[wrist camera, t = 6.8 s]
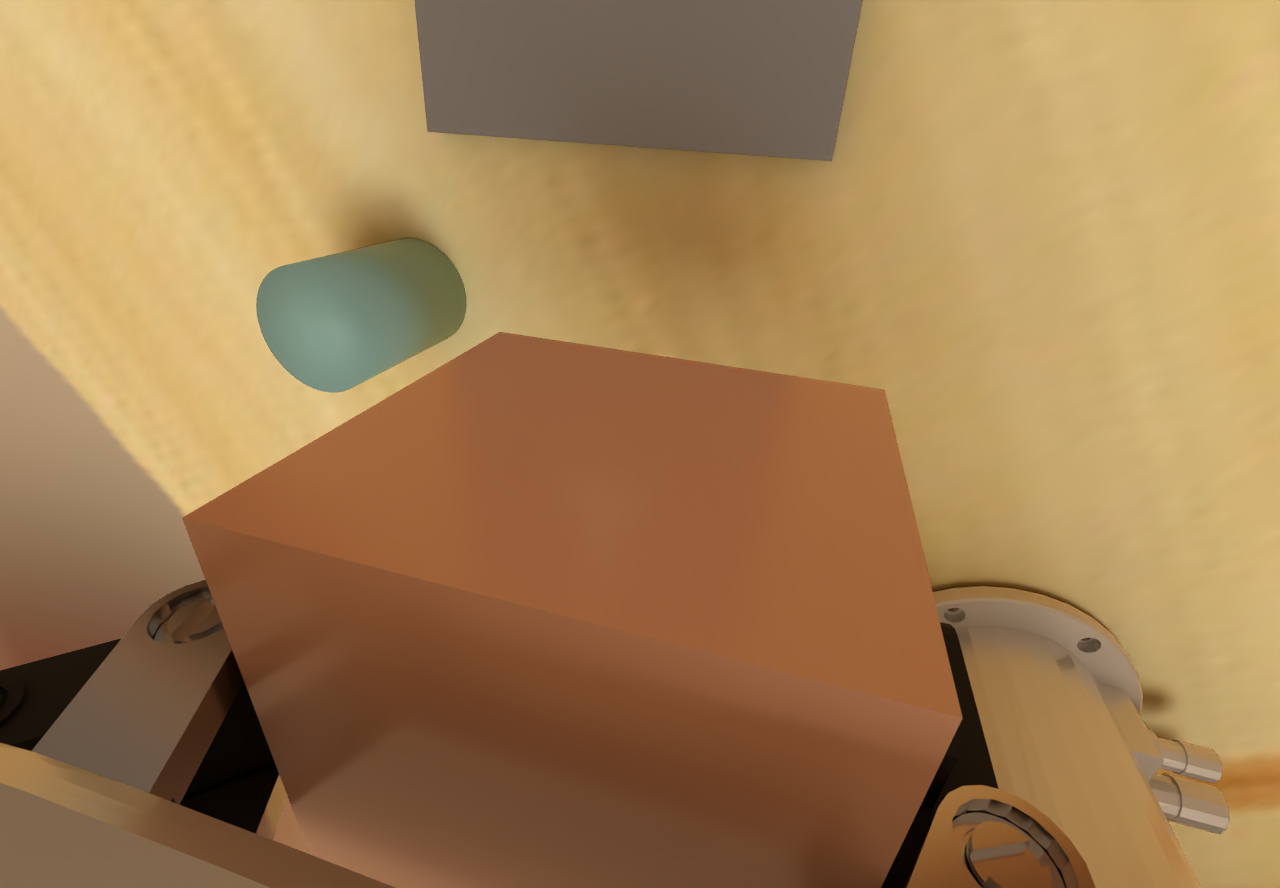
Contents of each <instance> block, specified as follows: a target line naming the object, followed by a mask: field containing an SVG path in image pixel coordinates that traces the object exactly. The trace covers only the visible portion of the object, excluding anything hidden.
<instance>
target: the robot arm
mask: <svg viewBox="0 0 1280 888" xmlns="http://www.w3.org/2000/svg"><path fill="white" fill-rule="evenodd" d="M933 596H934V600H935V604H936V608H937V613H938V617H939V621H940V625H941V629H942V634H943V638H944V642H945V646H946V650H947V655H948V659H949V663H950V667H951V671H952V676H953V680H954V684H955V688H956V692H957V697H958V701H959V705H960V709H961V714H962V720H961V723H960V725H959V727H958V729H957V731H956V733H955V735H954V737H953V739H952V741H951V743H950V745H949V747H948V749H947V752H946V754H945V756H944V758H943V760H942V762H941V764H940V766H939V768H938V770H937V772H936V774H935V776H934V779H933V781H932V783H931V785H930V787H929V789H928V791H927V793H926V795H925V797H924V799H923V801H922V803H921V805H920V808H919V810H918V812H917V814H916V816H915V818H914V820H913V822H912V824H911V826H910V828H909V830H908V832H907V835H906V837H905V839H904V841H903V843H902V845H901V847H900V849H899V851H898V853H897V855H896V857H895V859H894V861H893V864H892V866H891V868H890V870H889V872H888V874H887V876H886V878H885V880H884V882H883V884H882V886H881V888H1201V886H1200V884H1199V882H1198V880H1197V878H1196V876H1195V874H1194V872H1193V870H1192V868H1191V866H1190V864H1189V862H1188V860H1187V858H1186V856H1185V854H1184V852H1183V850H1182V848H1181V846H1180V844H1179V842H1178V840H1177V838H1176V836H1175V834H1174V832H1173V830H1172V828H1171V826H1170V824H1169V822H1168V821H1171V822H1175V823H1178V824H1182V825H1186V826H1189V827H1193V828H1197V829H1200V830H1204V831H1208V832H1211V833H1217V834H1221V833H1222V832H1223V831H1225V830H1226V829H1227V826H1228V823H1229V820H1230V819H1229V807H1228V805H1227V802H1226V800H1225V797H1224V795H1223V794H1222V793H1221V792H1220V791H1219V790H1218V789H1217V788H1216V787H1214V786H1211V785H1208V784H1205V783H1201V782H1197V781H1193V780H1189V779H1185V778H1181V777H1177V776H1174V775H1170V774H1166V773H1163V774H1161V775H1160V774H1156V772H1157V770H1158V769H1159V768H1162V769H1166V770H1170V771H1173V772H1174V773H1176V774H1179V775H1183V776H1187V777H1191V778H1195V779H1199V780H1203V781H1206V782H1210V783H1215V782H1217V781H1219V780H1220V778H1221V775H1222V763H1221V760H1220V758H1219V755H1218V754H1217V753H1216V752H1215V751H1214V750H1213V749H1209V748H1205V747H1201V746H1197V745H1193V744H1189V743H1185V742H1181V741H1177V740H1172V741H1170V740H1166V739H1162V738H1158V737H1157V736H1156V735H1155V733H1154V732H1153V731H1152V730H1150V729H1149V728H1147V727H1146V726H1145V724H1144V722H1143V720H1142V719H1141V717H1140V716H1141V712H1142V700H1143V693H1142V688H1141V684H1140V680H1139V676H1138V674H1137V672H1136V670H1135V668H1134V666H1133V664H1132V663H1131V661H1130V659H1129V657H1128V655H1127V653H1126V652H1125V650H1124V649H1123V648H1122V646H1121V645H1120V644H1119V642H1118V641H1117V640H1116V639H1115V637H1114V636H1113V635H1112V633H1110V632H1109V631H1108V630H1107V629H1106V628H1104V627H1103V626H1102V625H1101V624H1100V623H1098V622H1097V621H1096V620H1095V619H1094V618H1092V617H1091V616H1089V615H1087V614H1085V613H1083V612H1082V611H1080V610H1078V609H1076V608H1075V607H1073V606H1071V605H1069V604H1067V603H1064V602H1061V601H1058V600H1056V599H1053V598H1050V597H1047V596H1045V595H1042V594H1038V593H1033V592H1028V591H1023V590H1018V589H1014V588H1002V587H988V586H977V587H961V588H951V589H946V590H941V591H936V592H933ZM287 799H288V796H287V793H286V791H285V788H284V785H283V783H282V780H281V777H280V775H279V772H278V770H277V767H276V764H275V762H274V759H273V756H272V754H271V751H270V748H269V746H268V743H267V740H266V738H265V735H264V733H263V730H262V727H261V725H260V722H259V719H258V717H257V714H256V711H255V709H254V706H253V703H252V701H251V698H250V696H249V693H248V690H247V688H246V685H245V682H244V680H243V677H242V674H241V672H240V669H239V666H238V664H237V661H236V659H235V656H234V653H233V651H232V648H231V645H230V643H229V640H228V637H227V635H226V632H225V629H224V627H223V624H222V622H221V619H220V616H219V614H218V611H217V608H216V606H215V603H214V600H213V598H212V595H211V592H210V590H209V587H208V585H207V582H206V580H203V581H200V582H196V583H193V584H190V585H186V586H184V587H182V588H180V589H177V590H176V591H173V592H171V593H169V594H167V595H165V596H164V597H162V598H161V599H159V600H158V601H156V602H155V603H153V604H152V605H151V606H150V607H149V608H148V609H146V610H145V611H144V612H143V613H142V614H141V615H140V616H139V618H138V619H137V620H136V621H135V623H134V624H133V625H132V626H131V628H130V629H129V630H128V631H127V633H126V634H125V635H124V636H123V638H122V639H118V640H114V641H110V642H107V643H103V644H99V645H95V646H91V647H88V648H85V649H81V650H77V651H73V652H69V653H65V654H61V655H58V656H54V657H50V658H46V659H42V660H39V661H35V662H31V663H27V664H24V665H20V666H16V667H12V668H9V669H5V670H1V671H0V888H395V887H393V886H390V885H388V884H385V883H382V882H380V881H377V880H375V879H372V878H369V877H367V876H364V875H362V874H359V873H356V872H354V871H351V870H349V869H346V868H343V867H341V866H338V865H336V864H333V863H331V862H328V861H325V860H323V859H320V858H318V857H315V856H312V855H310V854H307V853H304V852H302V851H299V850H297V849H294V848H291V847H289V846H286V845H284V844H281V843H278V842H276V841H273V838H274V835H275V832H276V830H277V827H278V824H279V821H280V819H281V816H282V813H283V811H284V808H285V805H286V802H287Z"/></svg>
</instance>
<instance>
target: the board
mask: <svg viewBox="0 0 1280 888" xmlns="http://www.w3.org/2000/svg"><path fill="white" fill-rule="evenodd" d="M862 1H863V0H415V9H416V19H417V29H418V39H419V49H420V59H421V69H422V79H423V89H424V99H425V110H426V120H427V130H428V132H439V133H453V134H466V135H480V136H494V137H508V138H521V139H535V140H549V141H563V142H576V143H590V144H604V145H618V146H631V147H645V148H659V149H673V150H686V151H700V152H714V153H728V154H741V155H755V156H769V157H783V158H796V159H810V160H824V161H832V157H833V152H834V147H835V141H836V136H837V131H838V126H839V121H840V115H841V110H842V105H843V100H844V95H845V89H846V84H847V79H848V74H849V68H850V63H851V58H852V53H853V48H854V42H855V37H856V32H857V27H858V22H859V16H860V11H861V6H862Z"/></svg>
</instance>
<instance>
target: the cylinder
mask: <svg viewBox="0 0 1280 888" xmlns="http://www.w3.org/2000/svg"><path fill="white" fill-rule="evenodd" d="M256 307H257V317H258V322H259V325H260V329H261V332H262V334H263V337H264V339H265V341H266V343H267V345H268V347H269V348H270V350H271V352H272V353H273V355H274V356H275V357H276V359H277V360H278V361H279V363H280V364H281V365H282V366H283V367H284V368H285V369H286V370H287V371H288V372H289V373H290V374H291V375H293V376H294V377H295V378H296V379H298V380H299V381H301V382H302V383H304V384H306V385H308V386H310V387H312V388H314V389H317V390H320V391H324V392H342V391H346V390H348V389H351V388H353V387H355V386H356V385H358V384H360V383H362V382H364V381H366V380H368V379H370V378H372V377H374V376H376V375H378V374H380V373H382V372H384V371H385V370H387V369H389V368H391V367H393V366H395V365H397V364H399V363H401V362H403V361H405V360H407V359H409V358H411V357H412V356H414V355H416V354H418V353H420V352H422V351H424V350H426V349H428V348H430V347H432V346H434V345H436V344H438V343H439V342H441V341H443V340H445V339H447V338H449V337H450V336H452V335H453V334H454V333H455V332H456V331H457V330H458V329H459V327H460V326H461V324H462V322H463V319H464V316H465V312H466V294H465V289H464V285H463V282H462V279H461V277H460V275H459V273H458V271H457V269H456V268H455V266H454V265H453V263H452V262H451V261H450V259H449V258H448V257H447V256H446V255H445V254H444V253H443V252H442V251H440V250H439V249H438V248H436V247H435V246H433V245H432V244H430V243H428V242H426V241H423V240H420V239H415V238H404V239H399V240H394V241H390V242H386V243H381V244H377V245H372V246H368V247H364V248H359V249H355V250H350V251H346V252H342V253H337V254H333V255H328V256H324V257H320V258H315V259H311V260H306V261H302V262H298V263H293V264H289V265H284V266H281V267H278V268H276V269H274V270H272V271H271V272H270V273H269V274H267V276H266V277H265V278H264V279H263V281H262V283H261V285H260V287H259V290H258V295H257V306H256Z"/></svg>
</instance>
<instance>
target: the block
mask: <svg viewBox="0 0 1280 888" xmlns="http://www.w3.org/2000/svg"><path fill="white" fill-rule="evenodd" d="M183 521H184V524H185V526H186V529H187V531H188V534H189V537H190V540H191V542H192V545H193V548H194V550H195V553H196V555H197V557H198V561H199V563H200V566H201V569H202V571H203V574H204V576H205V579H206V582H207V585H208V587H209V590H210V592H211V595H212V598H213V600H214V603H215V606H216V608H217V611H218V614H219V616H220V619H221V622H222V624H223V627H224V629H225V632H226V635H227V637H228V640H229V643H230V645H231V648H232V651H233V653H234V656H235V659H236V661H237V664H238V666H239V669H240V672H241V674H242V677H243V680H244V682H245V685H246V688H247V690H248V693H249V696H250V698H251V701H252V703H253V706H254V709H255V711H256V714H257V717H258V719H259V722H260V725H261V727H262V730H263V733H264V735H265V738H266V740H267V743H268V746H269V748H270V751H271V754H272V756H273V759H274V762H275V764H276V767H277V770H278V772H279V775H280V777H281V780H282V783H283V785H284V788H285V791H286V793H287V796H288V799H289V801H290V804H291V807H292V809H293V812H294V814H295V817H296V820H297V822H298V825H299V828H300V830H301V833H302V836H303V838H304V841H305V844H306V846H307V849H308V851H309V854H310V855H312V856H315V857H318V858H320V859H323V860H325V861H328V862H331V863H333V864H336V865H338V866H341V867H343V868H346V869H349V870H351V871H354V872H356V873H359V874H362V875H364V876H367V877H369V878H372V879H375V880H377V881H380V882H382V883H385V884H388V885H390V886H393V887H395V888H881V886H882V884H883V882H884V880H885V878H886V876H887V874H888V872H889V870H890V868H891V866H892V864H893V861H894V859H895V857H896V855H897V853H898V851H899V849H900V847H901V845H902V843H903V841H904V839H905V837H906V835H907V832H908V830H909V828H910V826H911V824H912V822H913V820H914V818H915V816H916V814H917V812H918V810H919V808H920V805H921V803H922V801H923V799H924V797H925V795H926V793H927V791H928V789H929V787H930V785H931V783H932V781H933V779H934V776H935V774H936V772H937V770H938V768H939V766H940V764H941V762H942V760H943V758H944V756H945V754H946V752H947V749H948V747H949V745H950V743H951V741H952V739H953V737H954V735H955V733H956V731H957V729H958V727H959V725H960V723H961V720H962V714H961V709H960V705H959V701H958V697H957V692H956V688H955V684H954V680H953V676H952V671H951V667H950V663H949V659H948V655H947V650H946V646H945V642H944V638H943V634H942V629H941V625H940V621H939V617H938V613H937V608H936V604H935V600H934V596H933V592H932V587H931V583H930V579H929V575H928V571H927V566H926V562H925V558H924V554H923V550H922V545H921V541H920V537H919V533H918V529H917V524H916V520H915V516H914V512H913V507H912V503H911V499H910V495H909V491H908V486H907V482H906V478H905V474H904V470H903V465H902V461H901V457H900V453H899V449H898V444H897V440H896V436H895V432H894V428H893V423H892V419H891V415H890V411H889V407H888V402H887V398H886V394H885V390H882V389H875V388H869V387H862V386H855V385H849V384H842V383H835V382H829V381H822V380H815V379H809V378H802V377H795V376H789V375H782V374H775V373H769V372H762V371H756V370H749V369H742V368H736V367H729V366H722V365H716V364H709V363H702V362H696V361H689V360H682V359H676V358H669V357H662V356H656V355H649V354H642V353H636V352H629V351H623V350H616V349H609V348H603V347H596V346H589V345H583V344H576V343H569V342H563V341H556V340H549V339H543V338H536V337H529V336H523V335H516V334H509V333H503V332H499V333H497V334H496V335H494V336H492V337H490V338H489V339H487V340H485V341H484V342H482V343H480V344H478V345H477V346H475V347H473V348H472V349H470V350H468V351H467V352H465V353H463V354H461V355H460V356H458V357H456V358H455V359H453V360H451V361H449V362H448V363H446V364H444V365H443V366H441V367H439V368H437V369H436V370H434V371H432V372H431V373H429V374H427V375H426V376H424V377H422V378H420V379H419V380H417V381H415V382H414V383H412V384H410V385H408V386H407V387H405V388H403V389H402V390H400V391H398V392H396V393H395V394H393V395H391V396H390V397H388V398H386V399H385V400H383V401H381V402H379V403H378V404H376V405H374V406H373V407H371V408H369V409H367V410H366V411H364V412H362V413H361V414H359V415H357V416H355V417H354V418H352V419H350V420H349V421H347V422H345V423H344V424H342V425H340V426H338V427H337V428H335V429H333V430H332V431H330V432H328V433H326V434H325V435H323V436H321V437H320V438H318V439H316V440H314V441H313V442H311V443H309V444H308V445H306V446H304V447H302V448H301V449H299V450H297V451H296V452H294V453H292V454H291V455H289V456H287V457H285V458H284V459H282V460H280V461H279V462H277V463H275V464H273V465H272V466H270V467H268V468H267V469H265V470H263V471H261V472H260V473H258V474H256V475H255V476H253V477H251V478H250V479H248V480H246V481H244V482H243V483H241V484H239V485H238V486H236V487H234V488H232V489H231V490H229V491H227V492H226V493H224V494H222V495H220V496H219V497H217V498H215V499H214V500H212V501H210V502H209V503H207V504H205V505H203V506H202V507H200V508H198V509H197V510H195V511H193V512H191V513H190V514H188V515H186V516H185V517H183Z"/></svg>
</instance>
